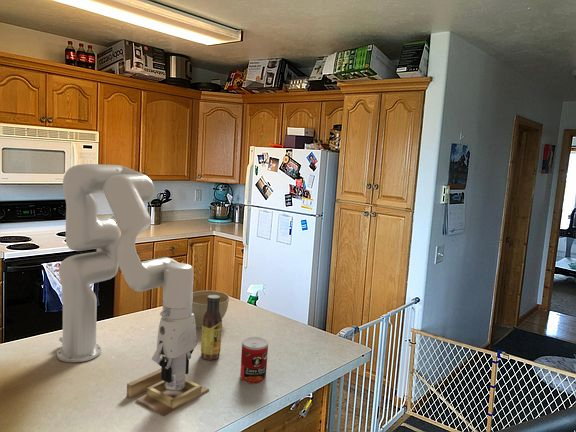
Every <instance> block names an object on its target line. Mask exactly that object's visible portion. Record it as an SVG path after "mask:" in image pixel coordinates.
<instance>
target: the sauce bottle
mask: <svg viewBox="0 0 576 432" xmlns="http://www.w3.org/2000/svg"><path fill="white" fill-rule="evenodd" d="M207 301H208V305H207V311H206V313H205V314H204V316H203V324H202V328H201V340H200V341H201V342H200V356H201V358H202V359H204V360H210V361H211V360H216V359H218V358H219V357H220V355H221V349H222V347H221V345H222V333H223V332H222V329H223V318H221V315H220V311H219V301H220V296H218V295H209V296H207Z"/></svg>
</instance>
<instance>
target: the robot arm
mask: <svg viewBox="0 0 576 432" xmlns="http://www.w3.org/2000/svg"><path fill="white" fill-rule="evenodd" d="M62 189H63V195H64V198H65V204H66V205H65V208H66V209H65V243H66V246H67V247H68V249H70V250H71V251H75V252H83V251H88V250H89V251H90V250H96V251H93V252H86V253H80V254H73V255H70V256H68V257H66V258H65V259H63V260H62V261H61V263H60V264H59V267H58V275H59V280H60V284H61V285H60V286H61V292H62V293H61V294H62V336H61V337H59V340H58V341H59V342H61V347H60V348H59V349H58V350H57V352H56V358H57V359H58V360H59V361H61V362H64V363H82V362H87V361H91V360H93V359H95V358H97V357H98V356H99V355H101V353H102V347H101V345H100V344H97V312H98V311H97V310H98V309H97V308H98V307H97V304H98V303H97V295H96V293H95V292H94V290H93V289H92V288H91V286H90V285H93V284H96V283H100V282H105V281H107V280H108V281H109V280H111V279H112V278H114V277H115V276H116V275H117V274H118V271H119V269H120V272H121V274H122V277H123V278H124V280H125V282H126V284H127V285H128V287H130V289H131V290H133V291H135V292H145V291H149V290H153V289H157V288H161V287H163V289H162V310H161V311H160V312H159V314H160V320H159V325H158V332H157V338H156V339H157V340H156V350H155V352H154V353H153V355H152V356H151V361H152V362H155V363H156V364H158V365H159V366H160V367H161V368H160V369H161V379H162V380H163V381H165V382H167V383H170V382H171V376H172V368H170V365H171V361H172V359H173V358H176V357H178V356H180V355H182V354H185V353H186V375H188V374H189V370H190V369H189V368H190V359H191V358H192V354H193V352H194V350H195V349H196V347H197V345H198V344H199V341H198V340H197V326H196V323H195V317H194V314H193V313H192V299H193V292H194V275H195V274H194V271H195V270H194V268H193V266H192V265H191V264H189V263H183V262H178V261H177V260H175V259H173V258H171V257H167V256H166V257H159V258H155V259H154V258H152V259H148V260H143V261H141V259H140V257H139V255H138V252H137V247H136V240H137V237H138V235H140V234H142V233H143V232H145V231H146V230H147V229H149V227H150V226H151V225H152V217H151V215H150V213H149V211H148V209H147V206H146V204H147V203H149V202H151V201H153V199H154V197H155V195H156V188H155V185H154V183H153V181H152V180H151V178H150V177H148V175H146V174H144V173H142V172H139V171H137V170H134V169H132V168H129V167H127V166H125V165H119V164H100V163H97V164H96V163H95V164H94V163H84V164H76V165H73V166H71V167H69V168H68V169H67V170H66V172H65V174H64V175H63V180H62ZM93 194H104V196H105V198H106V201H107V203H108V205H109V207H110V209H111V212H112V214H113V216H114V218H115V220H116V222H115V220H113V219H112V218H110V217H105V216H104V217H103V216H102V217H98V204H97V201H96V200H95V198H94V197H93ZM166 358H167V362H165V359H166Z"/></svg>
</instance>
